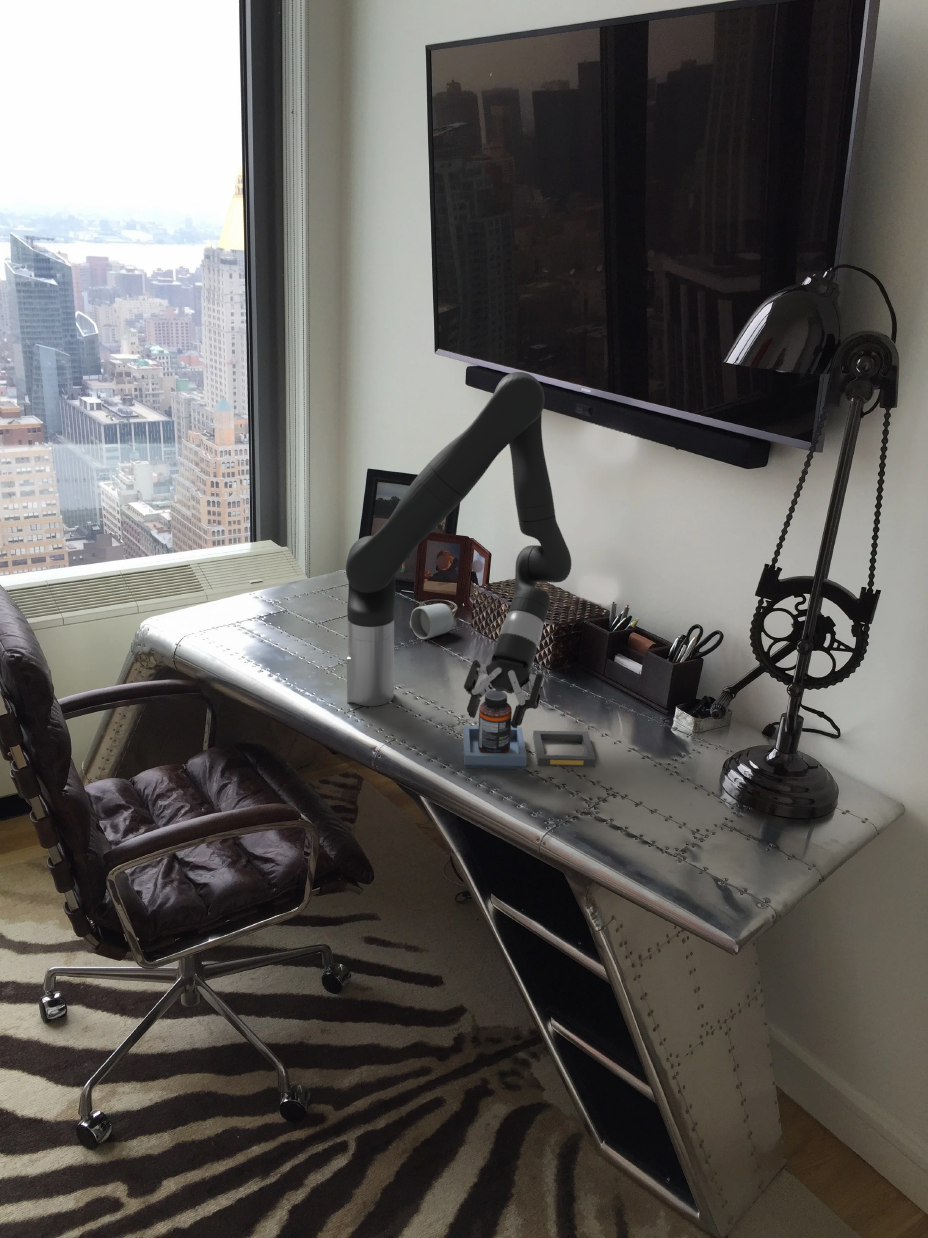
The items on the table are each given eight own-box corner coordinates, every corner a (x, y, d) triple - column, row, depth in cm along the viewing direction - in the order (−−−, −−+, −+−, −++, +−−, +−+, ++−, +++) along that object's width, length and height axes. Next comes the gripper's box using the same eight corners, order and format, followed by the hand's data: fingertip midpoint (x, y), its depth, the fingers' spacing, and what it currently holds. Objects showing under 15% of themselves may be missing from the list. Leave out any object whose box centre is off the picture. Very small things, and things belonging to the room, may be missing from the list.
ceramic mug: (456, 635, 234) (457, 604, 231) (430, 643, 228) (430, 612, 226) (426, 622, 241) (427, 592, 238) (400, 630, 235) (401, 600, 233)
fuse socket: (537, 765, 179) (538, 758, 178) (532, 737, 189) (533, 730, 188) (595, 767, 179) (595, 759, 179) (587, 738, 189) (587, 731, 188)
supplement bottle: (489, 738, 186) (491, 684, 182) (516, 748, 183) (519, 693, 179) (471, 751, 182) (473, 695, 177) (498, 761, 179) (501, 705, 174)
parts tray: (464, 767, 177) (464, 755, 176) (463, 737, 187) (463, 726, 187) (525, 769, 178) (526, 756, 177) (521, 739, 188) (521, 727, 187)
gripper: (478, 625, 184) (450, 706, 178) (551, 639, 178) (525, 723, 173) (488, 641, 190) (461, 720, 184) (558, 655, 185) (533, 737, 179)
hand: (492, 721), depth 179 cm, fingers open, 8 cm apart
